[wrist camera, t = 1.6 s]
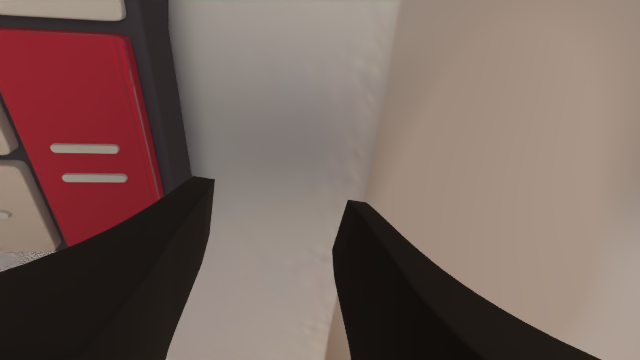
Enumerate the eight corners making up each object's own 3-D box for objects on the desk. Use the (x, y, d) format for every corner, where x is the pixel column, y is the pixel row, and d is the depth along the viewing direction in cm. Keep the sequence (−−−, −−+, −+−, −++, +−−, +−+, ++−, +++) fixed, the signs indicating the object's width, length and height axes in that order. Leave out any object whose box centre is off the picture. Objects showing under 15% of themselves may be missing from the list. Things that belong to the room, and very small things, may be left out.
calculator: (-64, 265, 15) (-410, -203, 8) (3, 210, 19) (-185, -144, 11) (182, 260, 17) (99, -147, 9) (200, 209, 20) (152, -110, 13)
